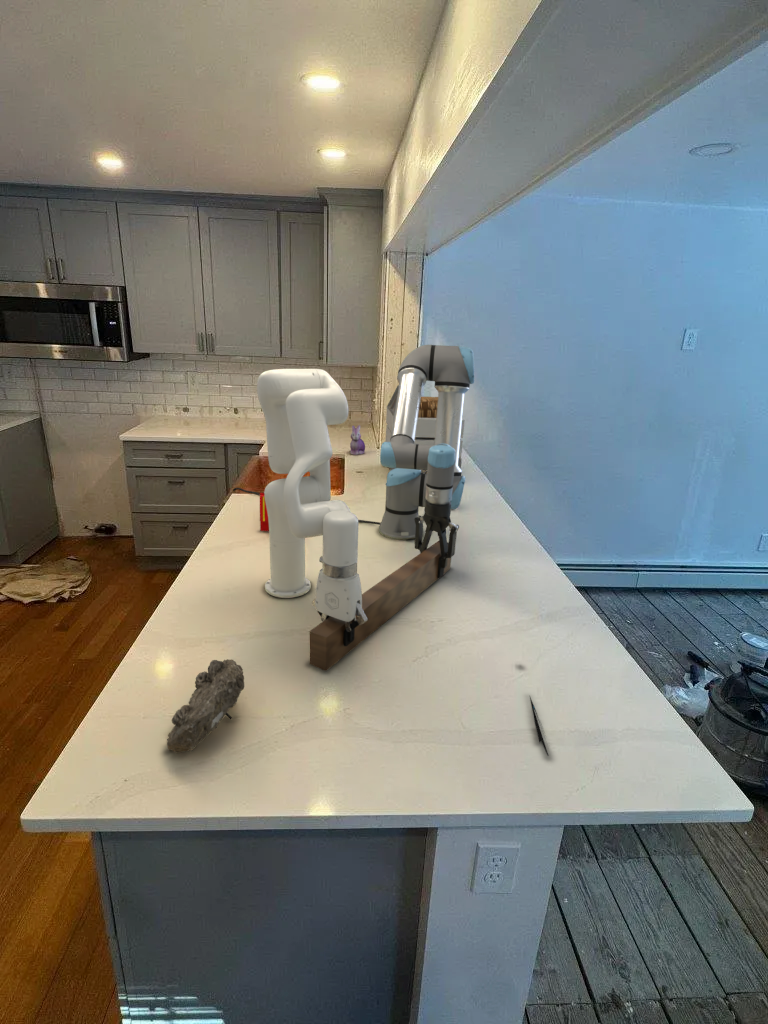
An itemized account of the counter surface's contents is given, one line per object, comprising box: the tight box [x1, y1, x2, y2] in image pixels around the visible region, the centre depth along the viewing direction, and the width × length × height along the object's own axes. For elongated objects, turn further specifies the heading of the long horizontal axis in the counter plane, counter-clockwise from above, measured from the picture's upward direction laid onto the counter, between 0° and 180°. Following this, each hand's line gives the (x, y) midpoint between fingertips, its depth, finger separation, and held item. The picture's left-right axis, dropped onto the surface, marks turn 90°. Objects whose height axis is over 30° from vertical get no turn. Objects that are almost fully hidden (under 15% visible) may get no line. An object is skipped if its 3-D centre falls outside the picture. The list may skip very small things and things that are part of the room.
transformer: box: [384, 384, 465, 472], centre depth 268 cm, size 34×33×41 cm
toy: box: [259, 492, 269, 532], centre depth 208 cm, size 12×13×30 cm
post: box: [309, 540, 452, 672], centre depth 149 cm, size 64×5×8 cm, turn 149°
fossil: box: [166, 658, 245, 754], centre depth 106 cm, size 22×10×15 cm
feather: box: [529, 696, 549, 756], centre depth 114 cm, size 2×28×2 cm
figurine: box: [349, 424, 366, 455], centre depth 305 cm, size 9×10×15 cm
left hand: (338, 638), depth 129 cm, fingers open, 4 cm apart
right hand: (432, 574), depth 169 cm, fingers closed on post, 5 cm apart
